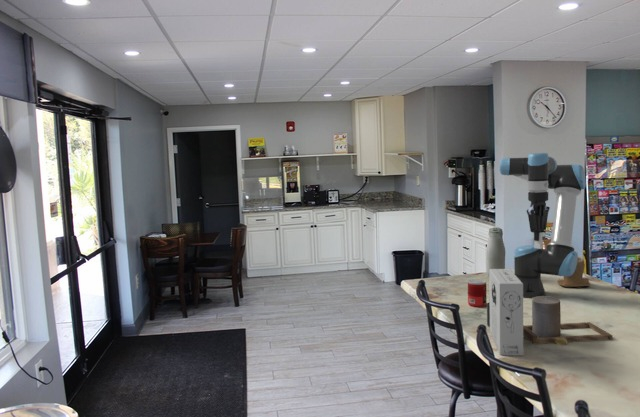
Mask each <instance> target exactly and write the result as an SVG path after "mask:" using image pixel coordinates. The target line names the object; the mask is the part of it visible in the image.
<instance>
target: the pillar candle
mask: <svg viewBox="0 0 640 417" xmlns="http://www.w3.org/2000/svg"><path fill="white" fill-rule="evenodd" d="M531 314H532V315H531V318H532V320H531V321H532V322H531V323H532V324H531V325H532V330H531V331H532V332H533V333H534V334H536V335H537V338H544V337H562V336H561V334H562V333H561V332H562V329H561V324H562V322H561V317H562V316H561V315H562V313H561V299H559V298H558V297H554V296H549V295H544V296H537V297H533V298H531Z"/></svg>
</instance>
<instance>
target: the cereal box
mask: <svg viewBox="0 0 640 417" xmlns="http://www.w3.org/2000/svg"><path fill="white" fill-rule="evenodd" d="M488 279H489V280H488V282H489V284H488V285H489V287H488V288H489V291H488V292H489V296H490V301H489V302H490V327H489V334H490V336H491V338H492V341H493V343H494V345H495V346H496V350H497V351H498V353H499V355H500V356H520V357H523V356H524V336H523V325H524V297H523V283H522V282H521V281H520V280H519V279H518V278H517V276H516V275H515V272H514V271H513V270H512V269H510V268H505V269H490V270H489V277H488Z"/></svg>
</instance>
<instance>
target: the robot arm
mask: <svg viewBox="0 0 640 417" xmlns="http://www.w3.org/2000/svg"><path fill="white" fill-rule="evenodd" d="M498 165H499V166H498V167H499V172H500V174H501V175H502V176H514V177H517V178H520V179H522V180H525V181H526V182H527V190H528V191H529V192H528V193H527V196H528V197H527V200H528V202H530V206H529V207H530V208H529V209H526V214H527V216H528V222H529V223H528V224H529V229H530V230H529V231H530V232H531V233H533V240H534V242H533V244H528V245H527V244H526V245H521V246H518V247H516V248H515V249H514V255H513V257H514V258H513V259H514V261H513V262H514V263H513V264H514V265H513V266H514V267H513V268H514V274H515V275H516V276H517V278H518V279H519V280H520V281H521V282H522V283H523V298H528V299H529V298H531V299H532V298H533V297H537V296H546V295H545V294H546V293H545V292H546V290H545V287H544V285H543V281H542V276H541V275H549V276H550V275H551V276H558V277H564V276H571V275H572V274H573V273H574V271H575V269H576V266H577V261H578V260H577V258H578V257H579V256H578V252H577V251H575V247H574V246H573V245H572V242H573V240H572V239H573V233H574V232H573V230H574V223H575V214H576V213H575V212H576V204H577V197H578V196H579V195H580V194H581V193H582V190H585V189H586V185H587V183H586V182H587V180H586V173H585V170H584V166H582V165H581V164H557V161H556V159H555V158H554V157H552V156H549V154H548V152H547V153H546V152H535V153H532V152H531V153H529V154H528V155H527V157H505V158H504V157H503V158H501V159H500V161H499V164H498ZM550 189H551V190H553V192H554V193H555V195H556V197H555V198H556V199H555V206H554V213H553V214H554V215H553V220H552V221H553V222H552V228H551V238H550V242H549V243H547V245H546V249H545V248H543V237H544V236H543V233H546V231H547V224H548V217H549V212H550V209H551V207H550V206H547V202H548V201H549V190H550Z"/></svg>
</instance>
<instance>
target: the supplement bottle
mask: <svg viewBox="0 0 640 417" xmlns="http://www.w3.org/2000/svg"><path fill="white" fill-rule="evenodd" d="M488 298H489V299H488V301H489V302H488V303H486V325H487V326H488V327H489V328H490V295H489V297H488Z"/></svg>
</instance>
